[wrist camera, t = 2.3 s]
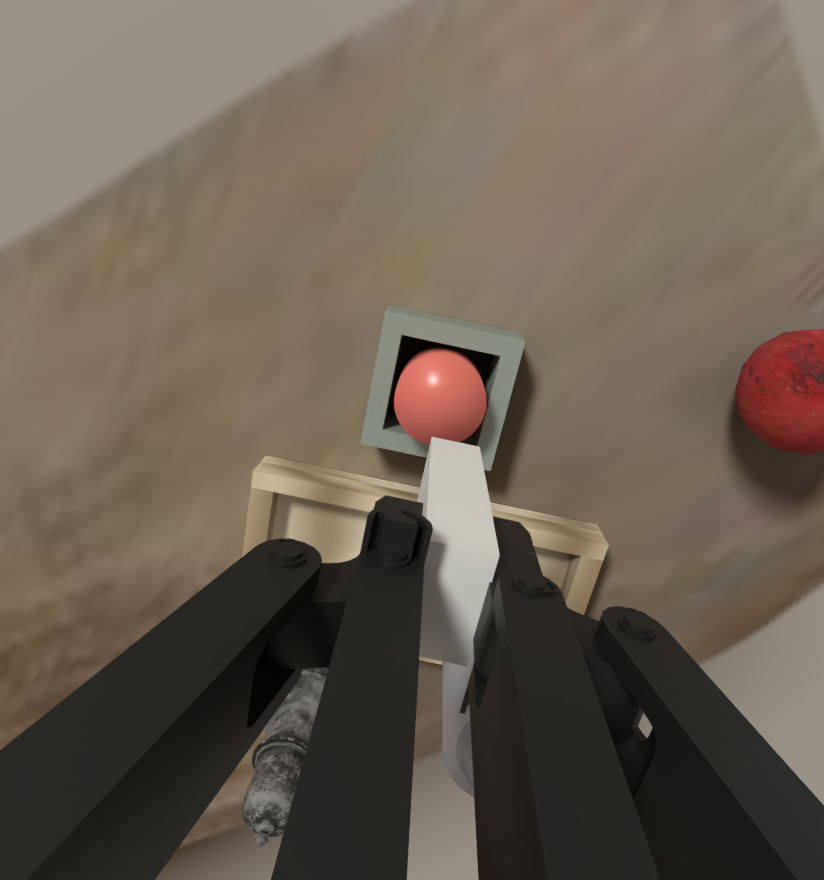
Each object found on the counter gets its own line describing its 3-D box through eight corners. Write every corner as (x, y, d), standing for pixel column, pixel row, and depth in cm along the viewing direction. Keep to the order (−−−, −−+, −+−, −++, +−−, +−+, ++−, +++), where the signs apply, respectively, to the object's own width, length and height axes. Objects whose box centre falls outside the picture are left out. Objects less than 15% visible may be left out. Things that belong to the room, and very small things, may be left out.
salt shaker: (350, 712, 39) (314, 899, 28) (265, 697, 39) (194, 878, 28) (362, 641, 37) (329, 811, 26) (274, 625, 37) (201, 788, 26)
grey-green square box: (366, 426, 33) (360, 443, 30) (390, 304, 31) (385, 309, 28) (486, 452, 33) (490, 470, 30) (517, 332, 31) (526, 340, 28)
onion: (690, 360, 31) (771, 395, 23) (793, 299, 30) (915, 315, 22) (736, 446, 32) (827, 505, 25) (837, 391, 31) (966, 435, 23)
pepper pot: (432, 618, 36) (427, 833, 22) (454, 533, 34) (463, 713, 21) (526, 638, 36) (577, 862, 23) (553, 554, 34) (626, 746, 21)
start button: (391, 419, 31) (386, 436, 28) (407, 338, 29) (404, 347, 27) (471, 436, 31) (474, 454, 28) (491, 356, 30) (496, 367, 27)
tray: (247, 598, 37) (233, 622, 34) (266, 455, 34) (253, 470, 31) (550, 660, 37) (557, 688, 35) (597, 524, 34) (608, 545, 32)
